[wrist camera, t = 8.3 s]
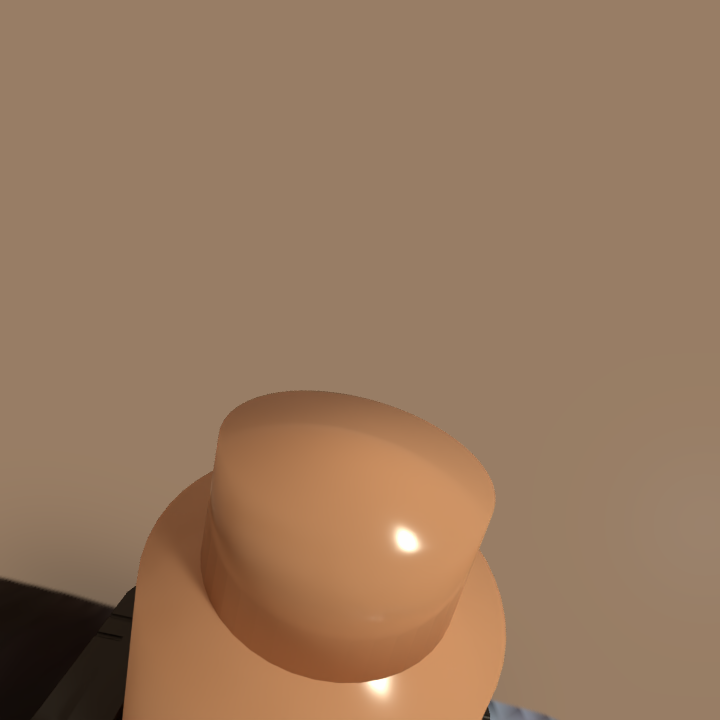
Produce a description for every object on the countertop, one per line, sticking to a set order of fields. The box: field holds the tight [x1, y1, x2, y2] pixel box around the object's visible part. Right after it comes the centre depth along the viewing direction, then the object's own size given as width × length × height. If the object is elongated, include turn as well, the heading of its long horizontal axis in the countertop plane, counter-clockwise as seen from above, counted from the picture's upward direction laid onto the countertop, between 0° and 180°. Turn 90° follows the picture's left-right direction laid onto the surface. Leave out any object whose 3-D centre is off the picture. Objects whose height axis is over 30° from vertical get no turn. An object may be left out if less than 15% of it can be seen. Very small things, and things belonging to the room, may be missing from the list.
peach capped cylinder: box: [122, 391, 506, 720], centre depth 8 cm, size 7×6×14 cm
